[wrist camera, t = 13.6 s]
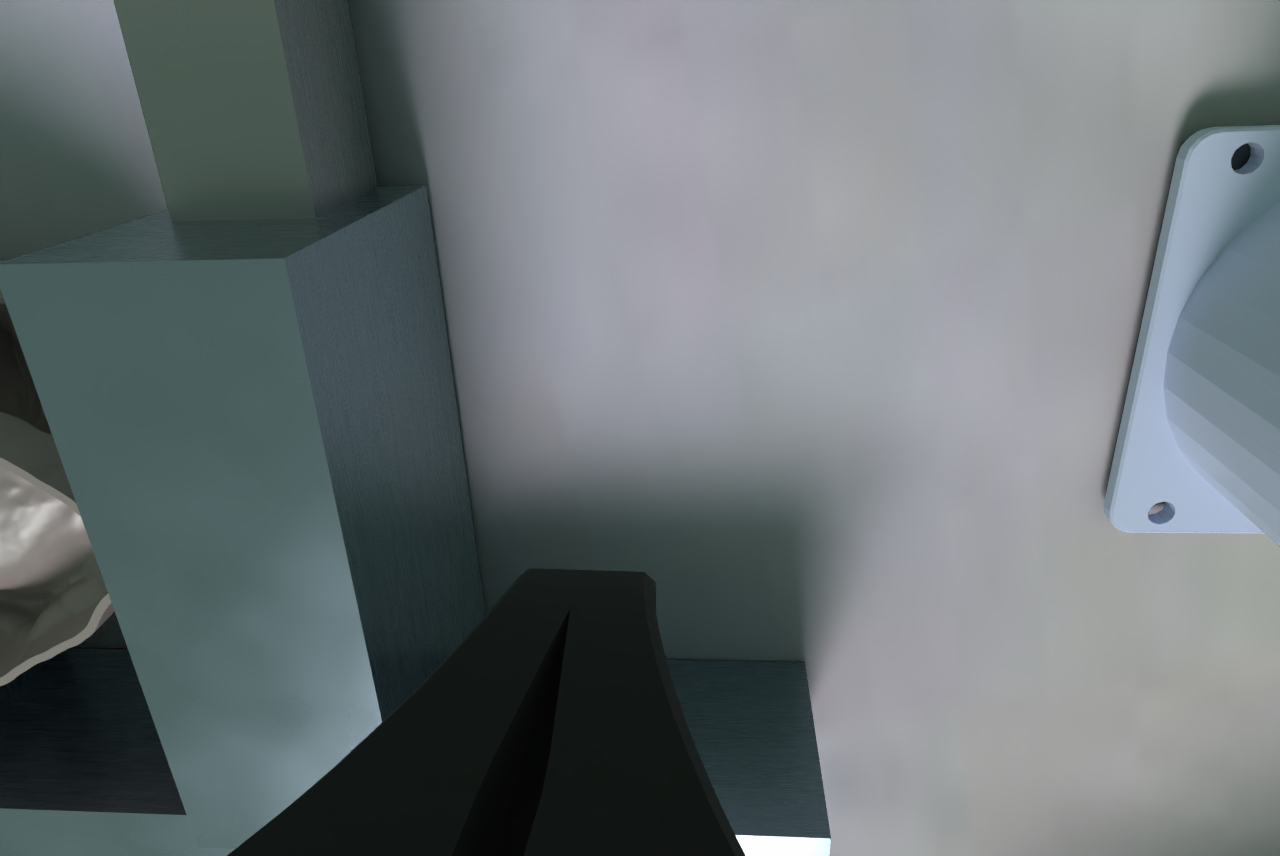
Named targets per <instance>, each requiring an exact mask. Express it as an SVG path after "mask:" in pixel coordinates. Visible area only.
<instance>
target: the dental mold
mask: <svg viewBox="0 0 1280 856" xmlns="http://www.w3.org/2000/svg"><path fill="white" fill-rule="evenodd" d="M3 261H5V260H0V262H3ZM113 612H114V608H113V605H112V603H111V600H110V597H109V594H108V591H107V588H106V586H105V583H104V580H103V577H102V574H101V572H100V569H99V566H98V563H97V560H96V557H95V555H94V552H93V549H92V546H91V543H90V540H89V538H88V535H87V532H86V529H85V526H84V523H83V521H82V518H81V515H80V512H79V509H78V507H77V504H76V501H75V498H74V495H73V492H72V490H71V487H70V484H69V481H68V478H67V475H66V473H65V470H64V467H63V464H62V461H61V458H60V456H59V453H58V450H57V447H56V444H55V442H54V439H53V436H52V433H51V430H50V427H49V425H48V422H47V419H46V416H45V413H44V410H43V408H42V405H41V402H40V399H39V396H38V394H37V391H36V388H35V385H34V382H33V379H32V377H31V374H30V371H29V368H28V365H27V362H26V360H25V357H24V354H23V351H22V348H21V345H20V343H19V340H18V337H17V334H16V331H15V329H14V326H13V323H12V320H11V317H10V314H9V312H8V309H7V306H6V303H5V300H4V297H3V295H2V292H1V289H0V686H2V685H5V684H7V683H9V682H11V681H12V680H14V679H15V678H16V677H17V676H19V675H20V674H22V673H23V672H25V671H27V670H28V669H30V668H31V667H33V666H34V665H36V664H38V663H40V662H43V661H46V660H48V659H50V658H52V657H54V656H55V655H57V654H59V653H61V652H63V651H65V650H67V649H69V648H71V647H74V646H77V645H79V644H80V643H82V642H83V641H84V640H85V639H87V638H88V637H90V636H91V635H92V634H93V633H94V632H95V631H96V630H97V629H98V628H99V627H100V626H101V625H102V624H103V623H104V622H105V621H106V620H107V619H108V618H109V617H110V616H111V615H112V614H113Z"/></svg>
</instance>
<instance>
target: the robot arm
mask: <svg viewBox="0 0 1280 856" xmlns="http://www.w3.org/2000/svg"><path fill="white" fill-rule="evenodd" d="M1246 143H1248V144H1249V146H1250V147H1251V156H1250V158H1249V160H1248V162H1247V163H1246V164H1245V165H1244V166H1243V167H1242V168H1240V169H1238V170H1235V171H1234V170H1233V169H1232V167H1231V158H1232V156H1233V154H1234V152H1235V150H1237V149H1238V148H1239V147H1240V146H1242V145H1243V144H1246ZM1160 502H1166V504H1165V506H1164V508H1163V509H1162V510H1161V511H1159V512H1158V513H1156V514H1151V515H1149V514H1148V512H1149V510H1150V508H1151V507H1152V506H1154V505H1155V504H1156V503H1160ZM1104 513H1105V515H1106V517H1107V518H1108V520H1109V521H1110V522H1111V524H1112V525H1113V526H1114V527H1116V528H1117V529H1119V530H1120V531H1124V532H1130V533H1265V534H1266V535H1267V536H1268V537H1269V538H1270V539H1271V540H1272V541H1273V542H1275V543H1276V544H1277V545H1278V546H1279V547H1280V125H1257V126H1226V127H1210V128H1206V129H1201V130H1199V131H1198V132H1196V133H1194V134H1193V135H1191V136H1190V137H1189V138H1188V139H1187V140H1186V141H1185V142H1184V144H1183V145H1182V146H1181V148H1180V150H1179V153H1178V155H1177V158H1176V162H1175V167H1174V172H1173V176H1172V181H1171V186H1170V191H1169V196H1168V200H1167V205H1166V210H1165V215H1164V219H1163V224H1162V229H1161V234H1160V238H1159V243H1158V248H1157V253H1156V258H1155V262H1154V267H1153V272H1152V277H1151V281H1150V286H1149V291H1148V296H1147V300H1146V305H1145V310H1144V315H1143V320H1142V324H1141V329H1140V334H1139V339H1138V343H1137V348H1136V353H1135V358H1134V363H1133V367H1132V372H1131V377H1130V382H1129V386H1128V391H1127V396H1126V401H1125V405H1124V410H1123V415H1122V420H1121V425H1120V429H1119V434H1118V439H1117V444H1116V448H1115V453H1114V458H1113V463H1112V467H1111V472H1110V477H1109V482H1108V487H1107V491H1106V496H1105V501H1104ZM227 856H746V855H745V853H744V851H743V849H742V848H741V846H740V844H739V842H738V840H737V838H736V835H735V833H734V831H733V829H732V827H731V825H730V823H729V821H728V819H727V817H726V815H725V813H724V810H723V808H722V806H721V804H720V802H719V800H718V797H717V795H716V793H715V791H714V788H713V786H712V784H711V781H710V779H709V777H708V774H707V772H706V770H705V767H704V765H703V763H702V760H701V758H700V756H699V753H698V751H697V748H696V746H695V743H694V741H693V738H692V736H691V733H690V730H689V728H688V725H687V723H686V720H685V717H684V714H683V711H682V708H681V705H680V702H679V699H678V696H677V693H676V690H675V687H674V685H673V682H672V679H671V676H670V672H669V669H668V665H667V662H666V658H665V655H664V650H663V646H662V642H661V638H660V633H659V629H658V623H657V618H656V582H655V581H654V580H653V579H652V578H650V577H649V576H648V575H647V574H646V573H645V572H623V571H593V570H562V569H531V568H529V569H528V570H527V571H526V572H524V573H523V574H522V575H521V576H520V577H519V578H518V579H517V580H516V581H515V582H514V584H513V585H512V586H511V587H510V588H509V589H508V590H507V591H506V593H505V594H504V595H503V596H502V597H501V598H500V599H499V601H498V602H497V603H496V604H495V605H494V606H493V607H492V609H491V610H490V611H489V612H488V613H487V614H486V615H485V616H484V618H483V619H482V620H481V621H480V622H479V623H478V624H477V625H476V626H475V628H474V629H473V630H472V631H471V632H470V633H469V634H468V635H467V636H466V637H465V638H464V640H463V641H462V642H461V643H460V644H459V645H458V646H457V647H456V648H455V649H454V650H453V651H452V653H451V654H450V655H449V656H448V657H447V658H446V659H445V660H444V661H443V662H442V663H441V664H440V665H439V666H438V667H437V668H436V669H435V670H434V671H433V672H432V673H431V674H430V675H429V676H428V677H427V678H426V679H425V680H424V681H423V683H422V684H421V685H420V686H419V687H418V688H417V689H416V690H415V691H414V692H413V693H412V694H411V695H410V696H409V697H408V698H407V699H406V700H405V701H404V702H403V703H402V704H401V705H400V706H399V707H398V708H397V709H396V710H395V711H394V712H393V713H392V714H390V715H389V716H388V717H387V718H386V719H385V720H384V721H383V722H382V723H381V724H380V725H379V726H378V727H377V728H375V729H374V730H373V731H372V732H371V733H370V734H369V735H368V736H367V737H366V738H365V739H364V740H363V741H362V742H360V743H359V744H358V745H357V746H356V747H355V748H354V749H353V750H352V751H351V752H350V753H349V754H348V755H347V756H345V757H344V758H343V759H342V760H341V761H340V762H339V763H338V764H337V765H336V766H335V767H334V768H332V769H331V770H330V771H329V772H328V773H327V774H326V775H324V776H323V777H322V778H321V779H320V780H319V781H317V782H316V783H315V784H314V785H313V786H312V787H311V788H309V789H308V790H307V791H306V792H305V793H304V794H302V795H301V796H300V797H299V798H298V799H296V800H295V801H294V802H293V803H292V804H290V805H289V806H288V807H287V808H286V809H284V810H283V811H282V812H281V813H280V814H278V815H277V816H276V817H275V818H273V819H272V820H271V821H270V822H268V823H267V824H266V825H265V826H263V827H262V828H261V829H260V830H258V831H257V832H256V833H255V834H253V835H252V836H251V837H250V838H248V839H247V840H246V841H245V842H243V843H242V844H241V845H240V846H238V847H237V848H236V849H235V850H233V851H232V852H231V853H229V854H228V855H227Z"/></svg>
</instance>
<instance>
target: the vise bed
mask: <svg viewBox="0 0 1280 856" xmlns="http://www.w3.org/2000/svg"><path fill="white" fill-rule="evenodd" d="M666 662H667V665H668V669H669V672H670V676H671V679H672V682H673V685H674V687H675V690H676V693H677V696H678V699H679V702H680V705H681V708H682V711H683V714H684V717H685V720H686V723H687V725H688V728H689V730H690V733H691V736H692V738H693V741H694V743H695V746H696V748H697V751H698V753H699V756H700V758H701V760H702V763H703V765H704V767H705V770H706V772H707V774H708V777H709V779H710V781H711V784H712V786H713V788H714V791H715V793H716V795H717V797H718V800H719V802H720V804H721V806H722V808H723V810H724V813H725V815H726V817H727V819H728V821H729V823H730V825H731V827H732V829H733V831H734V833H735V835H736V838H737V840H738V842H739V844H740V846H741V848H742V849H743V851H744V853H745V855H746V856H830V844H831V836H830V829H829V822H828V816H827V809H826V802H825V795H824V789H823V782H822V775H821V768H820V762H819V755H818V748H817V741H816V735H815V728H814V721H813V714H812V708H811V701H810V694H809V688H808V681H807V674H806V667H805V662H769V661H716V660H666ZM233 850H235V849H226V848H201V847H198V846H197V843H196V840H195V837H194V834H193V831H192V829H191V826H190V823H189V820H188V817H187V815H186V812H185V809H184V806H183V803H182V800H181V798H180V795H179V792H178V789H177V786H176V783H175V781H174V778H173V775H172V772H171V769H170V766H169V764H168V761H167V758H166V755H165V752H164V750H163V747H162V744H161V741H160V738H159V735H158V733H157V730H156V727H155V724H154V721H153V718H152V716H151V713H150V710H149V707H148V704H147V701H146V699H145V696H144V693H143V690H142V687H141V685H140V682H139V679H138V676H137V673H136V670H135V668H134V665H133V662H132V659H131V656H130V653H129V651H128V649H83V648H69V649H67V650H65V651H63V652H61V653H59V654H57V655H55V656H54V657H52V658H50V659H48V660H46V661H43V662H40V663H38V664H36V665H34V666H33V667H31V668H30V669H28V670H27V671H25V672H23V673H22V674H20V675H19V676H17V677H16V678H15V679H14V680H12V681H11V682H9V683H7V684H5V685H2V686H0V856H227V855H228V854H229V853H231V852H232V851H233Z"/></svg>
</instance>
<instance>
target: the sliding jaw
mask: <svg viewBox="0 0 1280 856" xmlns="http://www.w3.org/2000/svg"><path fill="white" fill-rule="evenodd" d="M114 4H115V8H116V11H117V15H118V19H119V23H120V27H121V30H122V34H123V38H124V42H125V46H126V50H127V53H128V57H129V61H130V65H131V69H132V73H133V76H134V80H135V84H136V88H137V92H138V96H139V99H140V103H141V107H142V111H143V115H144V118H145V122H146V126H147V130H148V134H149V138H150V141H151V145H152V149H153V153H154V157H155V161H156V164H157V168H158V172H159V176H160V180H161V184H162V187H163V191H164V195H165V199H166V203H167V206H168V210H164V211H161V212H158V213H155V214H152V215H149V216H145V217H142V218H139V219H136V220H133V221H130V222H126V223H123V224H120V225H117V226H114V227H110V228H107V229H104V230H101V231H98V232H95V233H91V234H88V235H85V236H82V237H79V238H76V239H72V240H69V241H66V242H63V243H60V244H56V245H53V246H50V247H47V248H44V249H41V250H37V251H34V252H31V253H28V254H25V255H22V256H18V257H15V258H12V259H9V260H6V261H3V262H0V289H1V292H2V295H3V297H4V300H5V303H6V306H7V309H8V312H9V314H10V317H11V320H12V323H13V326H14V329H15V331H16V334H17V337H18V340H19V343H20V345H21V348H22V351H23V354H24V357H25V360H26V362H27V365H28V368H29V371H30V374H31V377H32V379H33V382H34V385H35V388H36V391H37V394H38V396H39V399H40V402H41V405H42V408H43V410H44V413H45V416H46V419H47V422H48V425H49V427H50V430H51V433H52V436H53V439H54V442H55V444H56V447H57V450H58V453H59V456H60V458H61V461H62V464H63V467H64V470H65V473H66V475H67V478H68V481H69V484H70V487H71V490H72V492H73V495H74V498H75V501H76V504H77V507H78V509H79V512H80V515H81V518H82V521H83V523H84V526H85V529H86V532H87V535H88V538H89V540H90V543H91V546H92V549H93V552H94V555H95V557H96V560H97V563H98V566H99V569H100V572H101V574H102V577H103V580H104V583H105V586H106V588H107V591H108V594H109V597H110V600H111V603H112V605H113V608H114V611H115V614H116V617H117V620H118V622H119V625H120V628H121V631H122V634H123V636H124V639H125V642H126V645H127V648H128V651H129V653H130V656H131V659H132V662H133V665H134V668H135V670H136V673H137V676H138V679H139V682H140V685H141V687H142V690H143V693H144V696H145V699H146V701H147V704H148V707H149V710H150V713H151V716H152V718H153V721H154V724H155V727H156V730H157V733H158V735H159V738H160V741H161V744H162V747H163V750H164V752H165V755H166V758H167V761H168V764H169V766H170V769H171V772H172V775H173V778H174V781H175V783H176V786H177V789H178V792H179V795H180V798H181V800H182V803H183V806H184V809H185V812H186V815H187V817H188V820H189V823H190V826H191V829H192V831H193V834H194V837H195V840H196V843H197V846H198V847H201V848H226V849H236V848H237V847H238V846H240V845H241V844H242V843H243V842H245V841H246V840H247V839H248V838H250V837H251V836H252V835H253V834H255V833H256V832H257V831H258V830H260V829H261V828H262V827H263V826H265V825H266V824H267V823H268V822H270V821H271V820H272V819H273V818H275V817H276V816H277V815H278V814H280V813H281V812H282V811H283V810H284V809H286V808H287V807H288V806H289V805H290V804H292V803H293V802H294V801H295V800H296V799H298V798H299V797H300V796H301V795H302V794H304V793H305V792H306V791H307V790H308V789H309V788H311V787H312V786H313V785H314V784H315V783H316V782H317V781H319V780H320V779H321V778H322V777H323V776H324V775H326V774H327V773H328V772H329V771H330V770H331V769H332V768H334V767H335V766H336V765H337V764H338V763H339V762H340V761H341V760H342V759H343V758H344V757H345V756H347V755H348V754H349V753H350V752H351V751H352V750H353V749H354V748H355V747H356V746H357V745H358V744H359V743H360V742H362V741H363V740H364V739H365V738H366V737H367V736H368V735H369V734H370V733H371V732H372V731H373V730H374V729H375V728H377V727H378V726H379V725H380V724H381V723H382V722H383V721H384V720H385V719H386V718H387V717H388V716H389V715H390V714H392V713H393V712H394V711H395V710H396V709H397V708H398V707H399V706H400V705H401V704H402V703H403V702H404V701H405V700H406V699H407V698H408V697H409V696H410V695H411V694H412V693H413V692H414V691H415V690H416V689H417V688H418V687H419V686H420V685H421V684H422V683H423V681H424V680H425V679H426V678H427V677H428V676H429V675H430V674H431V673H432V672H433V671H434V670H435V669H436V668H437V667H438V666H439V665H440V664H441V663H442V662H443V661H444V660H445V659H446V658H447V657H448V656H449V655H450V654H451V653H452V651H453V650H454V649H455V648H456V647H457V646H458V645H459V644H460V643H461V642H462V641H463V640H464V638H465V637H466V636H467V635H468V634H469V633H470V632H471V631H472V630H473V629H474V628H475V626H476V625H477V624H478V623H479V622H480V621H481V620H482V619H483V618H484V616H485V615H486V614H485V607H484V599H483V592H482V585H481V578H480V570H479V563H478V556H477V549H476V541H475V534H474V527H473V520H472V512H471V505H470V498H469V491H468V483H467V476H466V469H465V462H464V454H463V447H462V440H461V433H460V425H459V418H458V411H457V403H456V396H455V389H454V382H453V374H452V367H451V360H450V353H449V345H448V338H447V331H446V324H445V316H444V309H443V302H442V295H441V287H440V280H439V273H438V266H437V258H436V251H435V244H434V237H433V229H432V222H431V215H430V208H429V200H428V193H427V186H426V185H413V186H379V187H378V184H377V178H376V172H375V166H374V159H373V153H372V147H371V141H370V134H369V128H368V122H367V116H366V110H365V103H364V97H363V91H362V85H361V78H360V72H359V66H358V60H357V54H356V47H355V41H354V35H353V29H352V22H351V16H350V10H349V4H348V0H114Z"/></svg>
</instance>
